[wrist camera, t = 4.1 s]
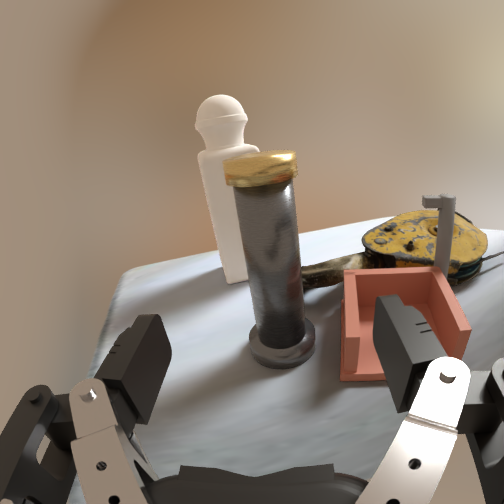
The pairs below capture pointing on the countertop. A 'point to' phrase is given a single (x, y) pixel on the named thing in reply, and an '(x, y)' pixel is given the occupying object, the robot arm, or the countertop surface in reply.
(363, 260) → the pulley block
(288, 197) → the tie-down post
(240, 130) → the white square bottle
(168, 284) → the countertop surface
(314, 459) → the countertop surface
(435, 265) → the keeper bracket
